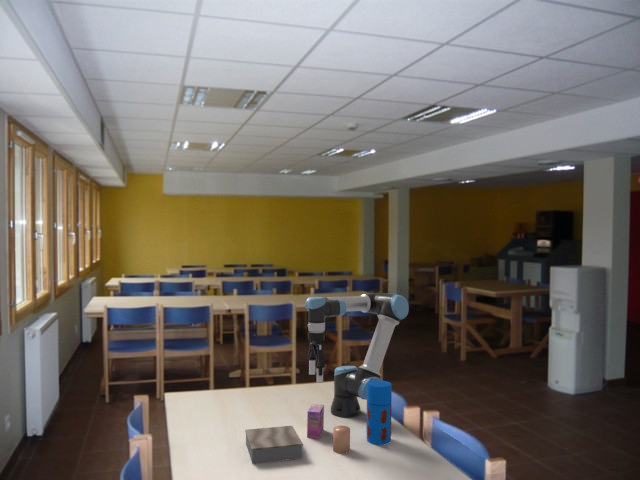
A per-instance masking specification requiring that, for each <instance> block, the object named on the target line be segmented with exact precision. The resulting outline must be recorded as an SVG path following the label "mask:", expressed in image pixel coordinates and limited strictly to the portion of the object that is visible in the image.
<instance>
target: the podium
mask: <svg viewBox="0 0 640 480" xmlns="http://www.w3.org/2000/svg"><path fill="white" fill-rule="evenodd" d="M244 431H245V446H246V448H247V451H248V455H249V457H250V461H251V464H262V463H271V462H272V463H273V462H279V461H280V462H281V461H289V460H291V461H292V460H298V459H303V446H304V443H303V442H302V439H301V438H300V436H299V435H298V433H297V431H296V430H295V428H294V426H293V425H283V426H272V427H262V428H261V427H260V428H250V429H245V430H244Z"/></svg>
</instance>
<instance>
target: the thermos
mask: <svg viewBox="0 0 640 480" xmlns="http://www.w3.org/2000/svg"><path fill="white" fill-rule="evenodd" d="M392 388H393V387H392V383H391V382H390V381H386V380H381V379H380V380H374V381H369V382H368V383H367V400H366V432H365V433H366V441H367V442H368V443H370V444H372V445H374V446H375V445H376V446H384V444H386V445H388V444H387V443H389V442H390V443H391V440H392V439H391V437H392V399H393V397H392V396H393V395H392V394H393V393H392V391H393V390H392ZM390 443H389V444H390Z"/></svg>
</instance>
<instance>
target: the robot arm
mask: <svg viewBox="0 0 640 480" xmlns="http://www.w3.org/2000/svg"><path fill="white" fill-rule="evenodd" d="M304 303H305V304H304V307H305V309H306V311H307V312H308V314H307V316H308V324H307V326H306V327H308V332H307V339H308V341H309V347H308V354H307V358H308V359H309V361H308V363H309V364H308V367H309V369H308V375H311V376H312V375H313V376H314V375H316V383H317V384H319V383H324V368H325V367H326V365H325V357H324V356H325V355H324V344H321V342H324V341H325V339H326V338H325V334H326V332H325V330H326V318H331V317H332V318H334V317H341V316H344V315H345V314H346V313H347V312H362V313H364V314H365V313H370V314H373V315H374V314H375V315H377V318H378V321H377V324H376V327H375V330H374V332H373V335H372V339H371V342H370V343H369V345H368V350H367V352H366V355H365V357H364V361H363V363H362V364H361V365H360V366H356V365H342V366H337V367H336V368H335V369H334V375H333V380H334V381H333V382H334V383H333V385H334V386H333V391H334V392H333V393H334V394H333V396H334V397H333V400H332V401H331V405H330V413H331V414H332V415H334V416H337V417H339V418H340V417H342V418H351V417H356V416H359V415H360V414H361V405H360V403H359V399H358V398H360V399H362V400H366V401H367V383H368V382H369V381H374V380H381V377H382V375H381V372H380V370H381V367H382V364H383V362H384V358H385V355H386V354H387V350H388V347H389V344H390V342H391V338H392V336H393V333H394V330H395V327H396V326H399V324H400V322H401V320H403V319H406V318H407V316H408V314H409V312H410V310H409V302H408V300H407V298H405V296H403V295H399V294H397V293H395V294H394V293H386V292H374V293H363V294H361V295H359V296H358V295H357V296H355V295H354V296H349V295H348V296H325V297H323V296H309V297H308V298H307V299H306V300H305V302H304ZM316 364H317V365H316Z"/></svg>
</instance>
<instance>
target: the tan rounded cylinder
mask: <svg viewBox="0 0 640 480" xmlns="http://www.w3.org/2000/svg"><path fill="white" fill-rule="evenodd" d="M332 432H333V436H332V438H333V441H332V442H333V443H332V444H333V445H332V446H333V447H332V450H333V452H334V453H336V454H340V455H341V454H342V455H343V454H348V453H350V452H351V428H350V427H349V426H346V425H336V426H333V431H332ZM349 451H350V452H349Z"/></svg>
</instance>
